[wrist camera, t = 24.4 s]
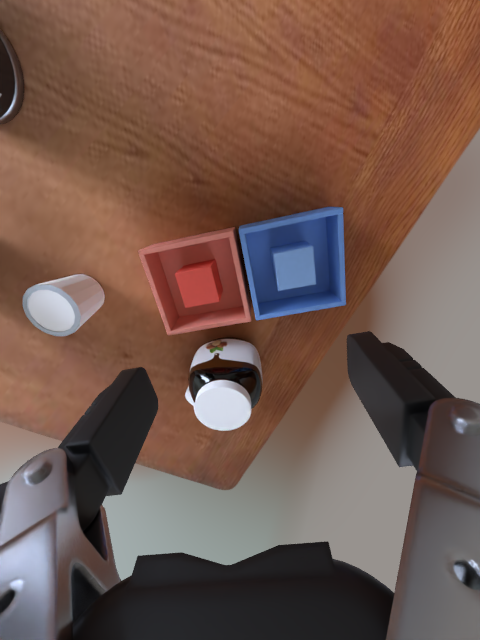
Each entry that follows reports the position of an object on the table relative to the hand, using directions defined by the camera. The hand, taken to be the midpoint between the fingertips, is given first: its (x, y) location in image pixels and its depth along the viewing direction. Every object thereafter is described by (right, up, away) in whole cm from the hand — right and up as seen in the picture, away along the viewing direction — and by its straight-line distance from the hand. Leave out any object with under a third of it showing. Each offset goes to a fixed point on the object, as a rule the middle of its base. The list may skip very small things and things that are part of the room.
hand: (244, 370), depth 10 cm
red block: (-5, +8, +25) cm, 26 cm away
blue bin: (+6, +10, +24) cm, 27 cm away
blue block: (+6, +10, +23) cm, 26 cm away
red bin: (-5, +8, +25) cm, 27 cm away
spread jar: (-3, -5, +31) cm, 32 cm away
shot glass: (-23, +6, +27) cm, 36 cm away
